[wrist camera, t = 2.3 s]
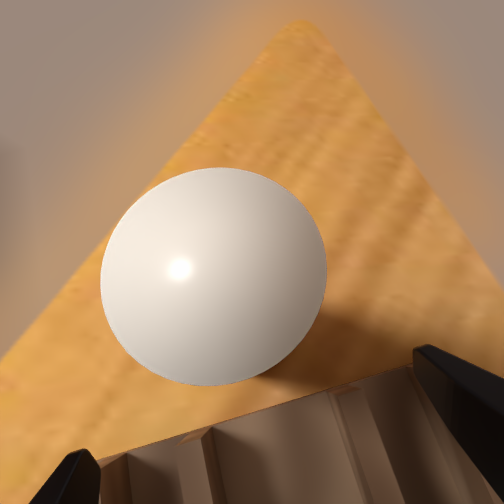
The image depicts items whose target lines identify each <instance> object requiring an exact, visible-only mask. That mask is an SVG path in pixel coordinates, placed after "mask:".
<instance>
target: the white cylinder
mask: <svg viewBox="0 0 504 504" xmlns="http://www.w3.org/2000/svg"><path fill="white" fill-rule="evenodd" d="M326 277H327V264H326V254H325V249H324V245H323V241H322V238H321V235H320V233H319V230H318V228H317V226H316V224H315V222H314V220H313V218H312V217H311V215H310V214H309V212H308V211H307V210H306V208H305V207H304V206H303V204H302V203H301V202H300V201H299V200H298V199H297V198H296V197H295V196H294V195H293V194H291V193H290V192H289V191H288V190H286V189H285V188H284V187H282V186H281V185H279V184H277V183H276V182H274V181H272V180H270V179H268V178H266V177H264V176H262V175H259V174H256V173H253V172H250V171H245V170H240V169H233V168H207V169H200V170H195V171H191V172H187V173H183V174H181V175H178V176H175V177H173V178H170V179H168V180H166V181H164V182H162V183H160V184H159V185H157V186H156V187H154V188H153V189H151V190H150V191H148V192H147V193H146V194H145V195H143V196H142V197H141V198H140V199H138V200H137V201H136V202H135V203H134V204H133V205H132V207H131V208H130V209H129V210H128V211H127V212H126V214H125V215H124V216H123V217H122V219H121V220H120V222H119V223H118V225H117V226H116V228H115V230H114V231H113V234H112V236H111V238H110V240H109V242H108V245H107V248H106V251H105V254H104V258H103V263H102V269H101V284H100V287H101V297H102V303H103V307H104V311H105V315H106V318H107V320H108V323H109V325H110V328H111V329H112V331H113V333H114V335H115V336H116V338H117V340H118V341H119V342H120V344H121V345H122V346H123V347H124V349H125V350H126V351H127V352H128V353H129V354H130V355H131V356H132V357H133V358H134V359H135V360H136V361H137V362H138V363H140V364H141V365H143V366H144V367H146V368H147V369H149V370H150V371H152V372H154V373H156V374H158V375H160V376H162V377H164V378H166V379H169V380H173V381H176V382H179V383H183V384H190V385H196V386H218V385H225V384H232V383H236V382H239V381H243V380H246V379H249V378H251V377H254V376H256V375H258V374H260V373H263V372H265V371H266V370H268V369H269V368H271V367H273V366H274V365H276V364H277V363H279V362H280V361H281V360H282V359H284V358H285V357H286V356H287V355H288V354H290V353H291V352H292V351H293V350H294V349H295V347H296V346H297V345H298V344H299V343H300V342H301V341H302V340H303V338H304V337H305V335H306V334H307V332H308V331H309V329H310V328H311V326H312V324H313V322H314V320H315V318H316V317H317V315H318V312H319V309H320V307H321V304H322V301H323V297H324V292H325V287H326Z"/></svg>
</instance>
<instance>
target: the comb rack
mask: <svg viewBox="0 0 504 504" xmlns="http://www.w3.org/2000/svg"><path fill="white" fill-rule="evenodd" d="M96 461H97V463H98V464H99V466H100V468H101V484H100V495H99V504H504V503H503V502H502V500H501V499H500V498H499V496H498V495H497V494H496V493H495V491H494V490H493V489H492V487H491V486H490V485H489V483H488V482H487V481H486V479H485V478H484V477H483V475H482V474H481V473H480V471H479V470H478V469H477V467H476V466H475V465H474V464H473V462H472V461H471V460H470V458H469V457H468V456H467V454H466V453H465V452H464V450H463V449H462V448H461V446H460V445H459V444H458V442H457V441H456V440H455V438H454V437H453V436H452V434H451V433H450V431H449V430H448V428H447V427H446V425H445V424H444V422H443V421H442V419H441V417H440V416H439V414H438V413H437V411H436V409H435V408H434V406H433V404H432V403H431V401H430V400H429V398H428V396H427V395H426V393H425V392H424V390H423V388H422V387H421V385H420V384H419V382H418V380H417V379H416V377H415V375H414V372H413V363H412V364H408V365H405V366H402V367H399V368H395V369H392V370H389V371H386V372H382V373H379V374H376V375H373V376H369V377H366V378H363V379H360V380H356V381H353V382H350V383H347V384H343V385H340V386H337V387H334V388H330V389H327V390H324V391H321V392H317V393H314V394H311V395H308V396H304V397H301V398H298V399H295V400H291V401H288V402H285V403H282V404H278V405H275V406H272V407H269V408H265V409H262V410H259V411H256V412H252V413H249V414H246V415H243V416H239V417H236V418H233V419H230V420H226V421H223V422H220V423H217V424H213V425H210V426H207V427H204V428H200V429H197V430H194V431H191V432H187V433H184V434H181V435H178V436H174V437H171V438H168V439H165V440H161V441H158V442H155V443H152V444H148V445H145V446H142V447H139V448H135V449H132V450H129V451H126V452H122V453H119V454H116V455H113V456H109V457H106V458H103V459H100V460H96Z"/></svg>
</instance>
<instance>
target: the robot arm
mask: <svg viewBox="0 0 504 504" xmlns="http://www.w3.org/2000/svg"><path fill="white" fill-rule="evenodd" d="M413 372H414V375H415V377H416V379H417V380H418V382H419V384H420V385H421V387H422V388H423V390H424V392H425V393H426V395H427V396H428V398H429V400H430V401H431V403H432V404H433V406H434V408H435V409H436V411H437V413H438V414H439V416H440V417H441V419H442V421H443V422H444V424H445V425H446V427H447V428H448V430H449V431H450V433H451V434H452V436H453V437H454V438H455V440H456V441H457V442H458V444H459V445H460V446H461V448H462V449H463V450H464V452H465V453H466V454H467V456H468V457H469V458H470V460H471V461H472V462H473V464H474V465H475V466H476V467H477V469H478V470H479V471H480V473H481V474H482V475H483V477H484V478H485V479H486V481H487V482H488V483H489V485H490V486H491V487H492V489H493V490H494V491H495V493H496V494H497V495H498V496H499V498H500V499H501V500H502V502H503V503H504V378H501V377H499V376H497V375H495V374H493V373H491V372H489V371H486V370H484V369H482V368H480V367H478V366H476V365H473V364H471V363H469V362H467V361H465V360H463V359H461V358H458V357H456V356H454V355H452V354H450V353H448V352H446V351H443V350H441V349H439V348H437V347H435V346H433V345H430V344H424V345H421V346H418V347H415V348H414V349H413ZM100 484H101V468H100V466H99V464H98V463H97V461H96V460H95V459H94V457H93V456H92V455H91V453H90V452H89V451H88V450H87V449H85V448H84V449H80V450H76V451H73V452H71V453H69V454H68V455H67V456H66V457H65V458H64V459H63V460H62V462H61V463H60V464H59V466H58V467H57V468H56V469H55V471H54V472H53V473H52V475H51V476H50V477H49V478H48V480H47V481H46V482H45V483H44V485H43V486H42V487H41V489H40V490H39V491H38V492H37V494H36V495H35V496H34V498H33V499H32V500H31V501H30V503H29V504H99V495H100Z"/></svg>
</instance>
